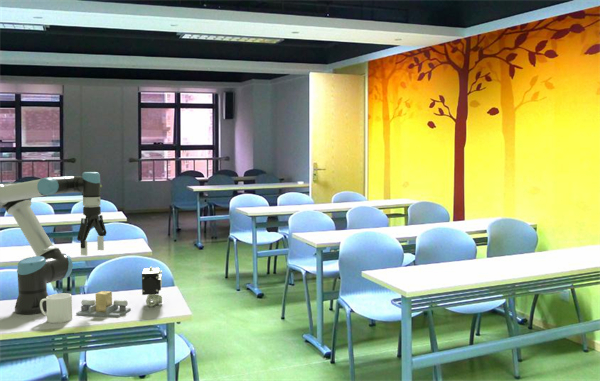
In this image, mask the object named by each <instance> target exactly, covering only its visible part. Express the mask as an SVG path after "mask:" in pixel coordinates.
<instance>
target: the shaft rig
mask: <svg viewBox="0 0 600 381" xmlns="http://www.w3.org/2000/svg"><path fill="white" fill-rule="evenodd" d="M127 306H128V300H122V299H121V300H119V299H114V300H113V303H112V305H110V306H109V307H107V308H106V312H96V299H82V300H81V306H80V310H79V311H78V312H76V315H75V316H87V317H108V318H120V317H122V316H124V315H125V314H127V313H128V312H130V311H131V308H130V307H127Z"/></svg>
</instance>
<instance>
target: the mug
mask: <svg viewBox="0 0 600 381" xmlns="http://www.w3.org/2000/svg"><path fill="white" fill-rule="evenodd" d="M43 301H46V305H47V311H45V312H44V310H43V307H42V303H43ZM40 309H41V313H42V315H44V316H46V321H47V323H49V324H63V323H67V322H70V321H72V320H73V298H72V294H71V293H67V292H66V293H65V292H64V293H54V294H50V295H49V294H48V296H47V297H46V299H42V300H41V301H40Z"/></svg>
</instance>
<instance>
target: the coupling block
mask: <svg viewBox="0 0 600 381" xmlns="http://www.w3.org/2000/svg"><path fill="white" fill-rule="evenodd" d="M95 301H96V312H106V308H107V307H109V306H110V305H112V304H113V292H112V291H109V290H107V291H106V290H104V291H103V290H101V291H99V292H96V293H95Z"/></svg>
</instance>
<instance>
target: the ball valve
mask: <svg viewBox="0 0 600 381" xmlns="http://www.w3.org/2000/svg"><path fill="white" fill-rule="evenodd" d="M162 275H163V270H160V267H153V266H150V267H143V270H142V273H141V293H142V294H141V295H142V296H146V295H147V297H146V299H145V303H146V306H148V307H155V306H156V305H157V306H159V305H161V304H162V303H163V295H160V291H161V290H162V285H163V276H162Z"/></svg>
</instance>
